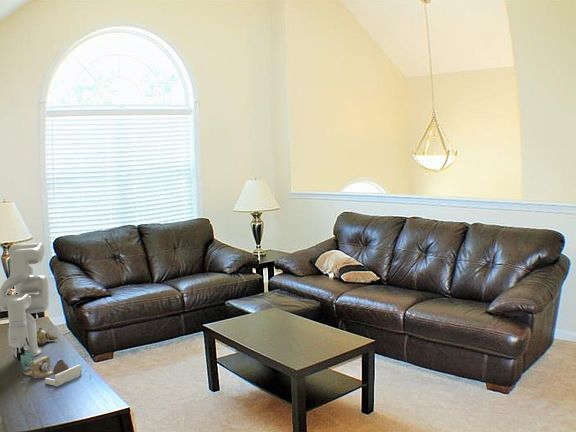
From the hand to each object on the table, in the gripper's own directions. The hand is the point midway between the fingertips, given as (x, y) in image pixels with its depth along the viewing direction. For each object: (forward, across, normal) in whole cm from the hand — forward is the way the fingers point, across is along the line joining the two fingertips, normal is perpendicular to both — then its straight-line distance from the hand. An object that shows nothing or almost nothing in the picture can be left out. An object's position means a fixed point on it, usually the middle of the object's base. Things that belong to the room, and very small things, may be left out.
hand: (21, 360), depth 277 cm
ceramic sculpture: (+5, -28, +33) cm, 44 cm away
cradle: (+5, +29, 0) cm, 29 cm away
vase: (+6, +27, 0) cm, 28 cm away
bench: (+5, +12, 0) cm, 13 cm away
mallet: (+4, +10, 0) cm, 11 cm away
